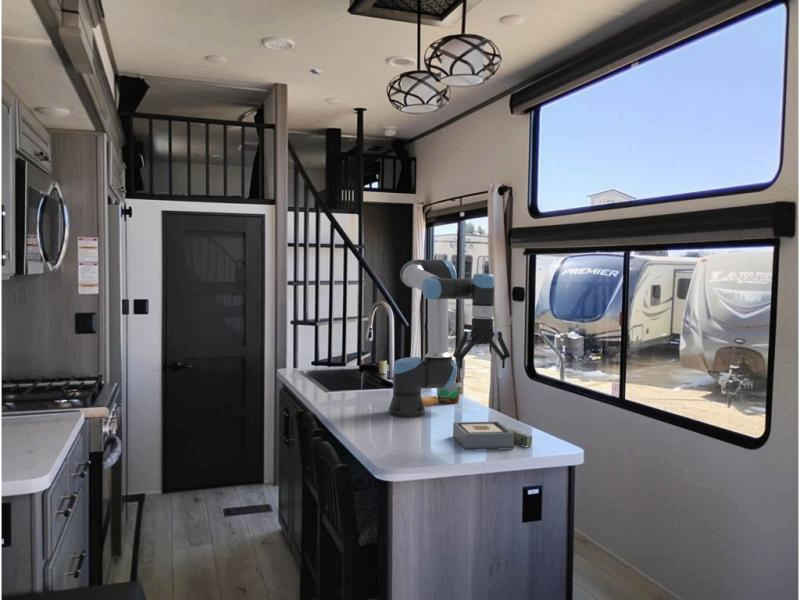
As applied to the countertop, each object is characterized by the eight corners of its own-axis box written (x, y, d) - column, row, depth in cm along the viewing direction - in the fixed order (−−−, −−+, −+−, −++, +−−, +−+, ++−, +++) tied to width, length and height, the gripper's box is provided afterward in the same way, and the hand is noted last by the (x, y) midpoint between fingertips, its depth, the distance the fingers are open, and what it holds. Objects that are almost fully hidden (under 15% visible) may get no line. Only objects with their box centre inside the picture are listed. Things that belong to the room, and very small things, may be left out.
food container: (432, 404, 287) (432, 382, 286) (434, 401, 293) (435, 380, 292) (459, 406, 284) (460, 384, 284) (461, 403, 290) (462, 381, 290)
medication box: (531, 447, 220) (533, 436, 220) (525, 448, 219) (527, 436, 219) (508, 438, 231) (509, 427, 231) (502, 438, 229) (504, 427, 229)
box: (452, 437, 231) (453, 422, 231) (498, 436, 234) (498, 421, 233) (465, 450, 214) (465, 434, 214) (513, 449, 217) (514, 433, 217)
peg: (412, 397, 281) (433, 395, 288) (410, 406, 282) (432, 403, 289) (417, 400, 278) (438, 398, 285) (416, 409, 279) (437, 406, 286)
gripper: (450, 318, 218) (449, 379, 220) (520, 318, 223) (518, 379, 224) (445, 316, 226) (444, 376, 227) (512, 316, 230) (511, 375, 231)
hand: (481, 377), depth 225 cm, fingers open, 13 cm apart
